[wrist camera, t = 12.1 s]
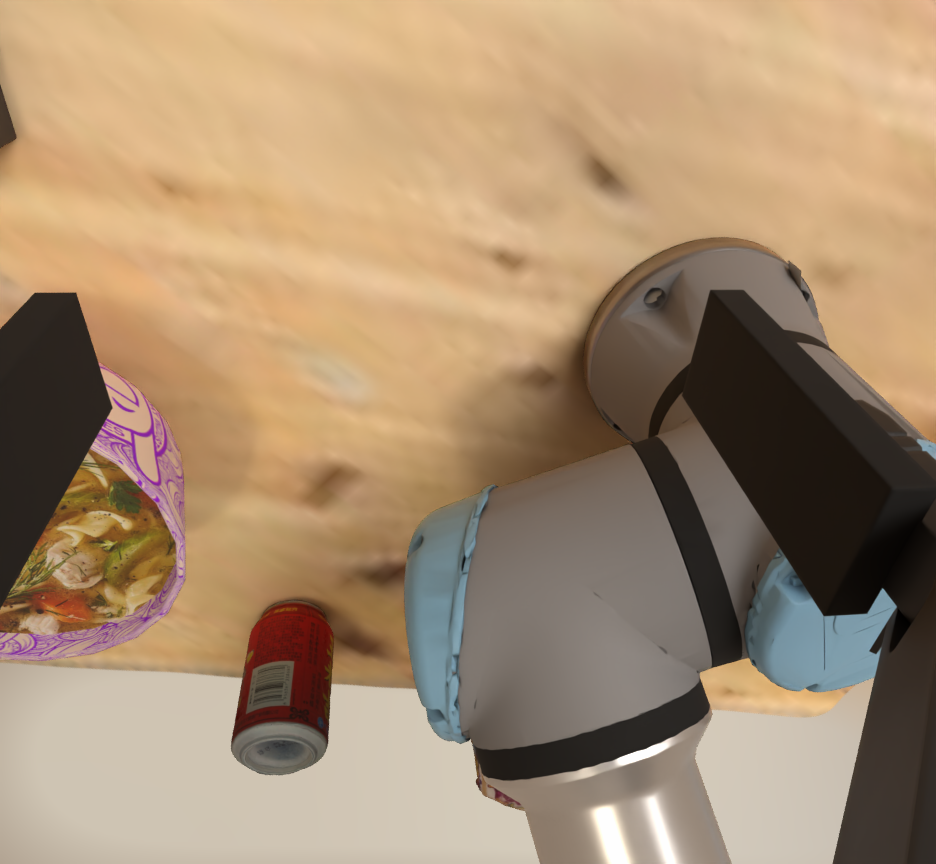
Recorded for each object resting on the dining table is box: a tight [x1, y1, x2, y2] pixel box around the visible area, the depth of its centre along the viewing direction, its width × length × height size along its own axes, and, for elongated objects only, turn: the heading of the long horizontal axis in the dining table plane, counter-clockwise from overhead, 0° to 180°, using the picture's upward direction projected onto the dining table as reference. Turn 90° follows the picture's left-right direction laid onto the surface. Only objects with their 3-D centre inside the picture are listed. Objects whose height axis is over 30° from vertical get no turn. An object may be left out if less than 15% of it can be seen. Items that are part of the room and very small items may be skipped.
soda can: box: [231, 601, 334, 775], centre depth 55 cm, size 7×7×12 cm
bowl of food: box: [0, 362, 185, 661], centre depth 41 cm, size 20×20×12 cm
